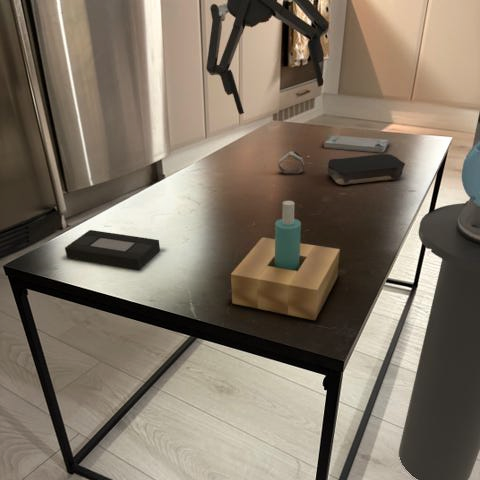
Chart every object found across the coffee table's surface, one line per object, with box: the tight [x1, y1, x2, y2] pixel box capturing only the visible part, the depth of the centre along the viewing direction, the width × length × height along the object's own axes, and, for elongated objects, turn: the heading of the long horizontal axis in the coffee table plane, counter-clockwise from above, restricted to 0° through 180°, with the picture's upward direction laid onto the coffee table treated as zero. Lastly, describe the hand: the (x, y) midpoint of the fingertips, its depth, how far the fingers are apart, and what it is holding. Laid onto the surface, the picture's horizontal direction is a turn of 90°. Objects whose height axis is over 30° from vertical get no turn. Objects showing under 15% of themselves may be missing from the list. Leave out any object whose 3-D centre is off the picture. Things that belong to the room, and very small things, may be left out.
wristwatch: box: [277, 150, 305, 175], centre depth 119 cm, size 4×6×5 cm, turn 93°
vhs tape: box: [64, 229, 161, 271], centre depth 87 cm, size 8×14×2 cm, turn 70°
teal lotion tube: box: [274, 200, 302, 271], centre depth 73 cm, size 4×4×14 cm
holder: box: [230, 237, 341, 321], centre depth 75 cm, size 13×13×5 cm
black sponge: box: [326, 153, 406, 186], centre depth 115 cm, size 16×8×4 cm, turn 101°
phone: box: [323, 134, 389, 154], centre depth 136 cm, size 8×16×1 cm, turn 67°
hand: (280, 98), depth 83 cm, fingers open, 13 cm apart
